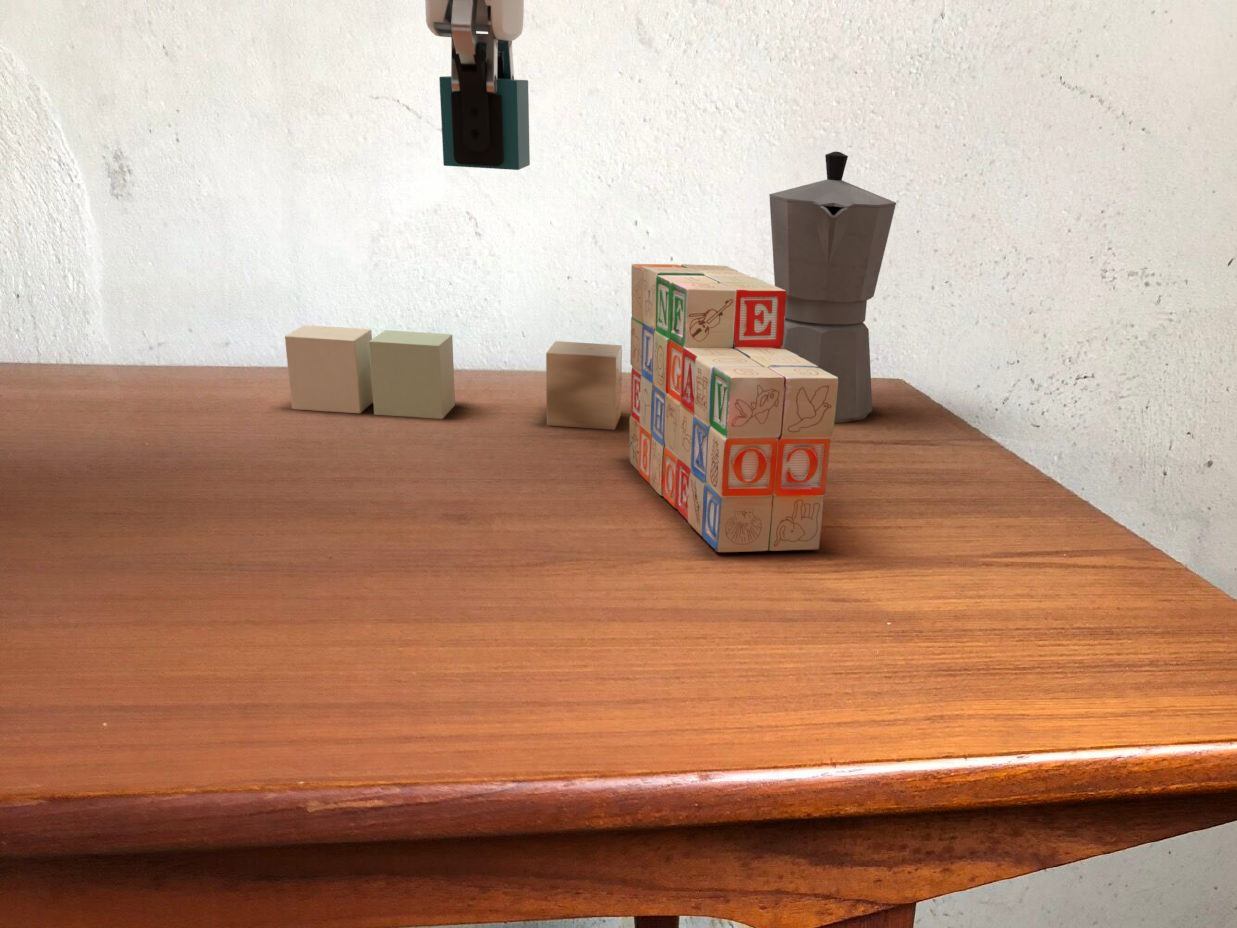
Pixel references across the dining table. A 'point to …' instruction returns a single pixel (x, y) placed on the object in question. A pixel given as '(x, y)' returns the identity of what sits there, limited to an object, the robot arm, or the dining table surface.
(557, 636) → the dining table surface
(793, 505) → the stack of blocks
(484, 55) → the robot arm
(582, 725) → the dining table surface
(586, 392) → the block
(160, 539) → the dining table surface
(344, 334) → the block
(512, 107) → the teal block
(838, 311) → the coffeepot
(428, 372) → the block
